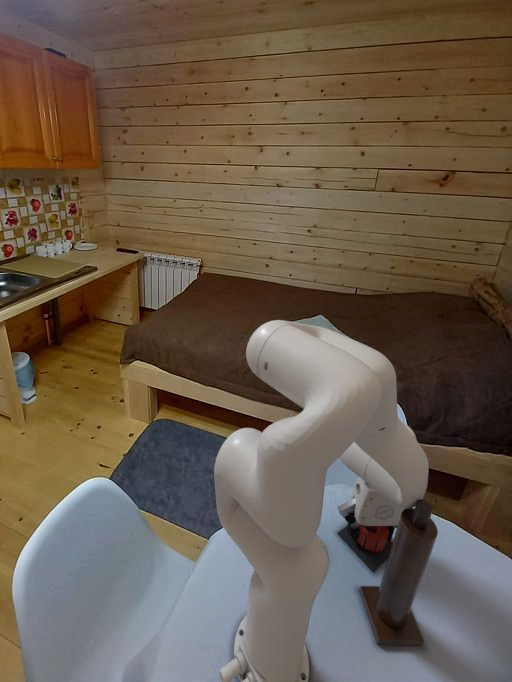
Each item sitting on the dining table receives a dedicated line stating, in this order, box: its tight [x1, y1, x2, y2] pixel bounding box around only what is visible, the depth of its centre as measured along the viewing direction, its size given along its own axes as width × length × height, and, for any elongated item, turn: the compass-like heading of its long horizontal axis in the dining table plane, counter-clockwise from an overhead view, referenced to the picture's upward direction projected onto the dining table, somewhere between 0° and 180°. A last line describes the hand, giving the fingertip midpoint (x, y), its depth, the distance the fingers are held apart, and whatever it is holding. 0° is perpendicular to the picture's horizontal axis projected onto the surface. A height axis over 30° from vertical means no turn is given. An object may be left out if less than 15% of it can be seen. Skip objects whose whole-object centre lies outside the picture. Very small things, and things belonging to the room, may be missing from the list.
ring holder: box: [358, 498, 439, 646], centre depth 59 cm, size 8×8×29 cm
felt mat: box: [337, 525, 393, 573], centre depth 77 cm, size 9×9×1 cm
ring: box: [355, 518, 389, 552], centre depth 76 cm, size 7×7×4 cm
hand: (368, 534), depth 76 cm, fingers closed on ring, 7 cm apart
